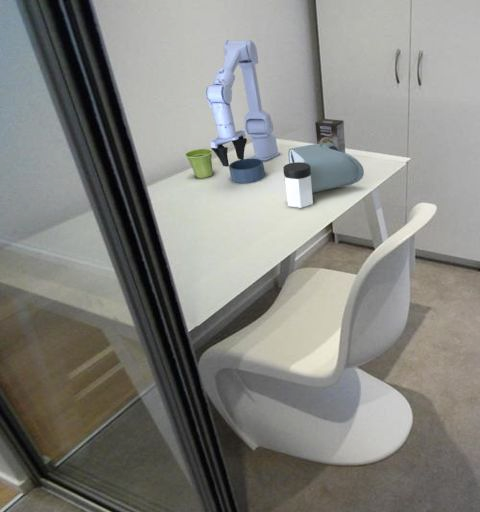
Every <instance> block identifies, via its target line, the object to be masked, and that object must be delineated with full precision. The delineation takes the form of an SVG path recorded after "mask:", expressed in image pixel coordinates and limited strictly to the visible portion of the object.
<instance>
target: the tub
mask: <svg viewBox="0 0 480 512" xmlns="http://www.w3.org/2000/svg"><path fill="white" fill-rule="evenodd" d="M228 169H229V173H230V178H231V181H232V182H234V183H237V184H251V183H256V182H258V181H261V180H264V178H265V177H266V171H265V165H264V161H263V160H260V159H255V158H251V157H250V158H244V159H243V160H241V159H238V160H235V161H233V162H231V163H230V164H229V166H228Z"/></svg>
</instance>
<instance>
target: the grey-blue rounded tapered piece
mask: <svg viewBox="0 0 480 512" xmlns="http://www.w3.org/2000/svg"><path fill="white" fill-rule="evenodd" d="M287 153H288V164H290V163H296V162H301V163H307V164H309V165H310V170H311V174H310V175H311V184H312V194H313V193H317V192H322V191H326V190H330V189H337V188H340V187H346V186H351V185H354V184H357V183H358V182H360V181H361V180H362V179H363V177H364V174H365V170H364V167H363V165H362V163H361V162H360V161H359V160H358V159H357V158H355V157H354V156H353V155H350V154H349V153H346V152H345V153H343V152H339V151H338V149H337V148H336V146H335V145H334V144H332V143H330V142H327V143H320V144H317V143H314V144H309V145H303V146H297V147H292V148H291V147H290V148H288V152H287Z"/></svg>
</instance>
